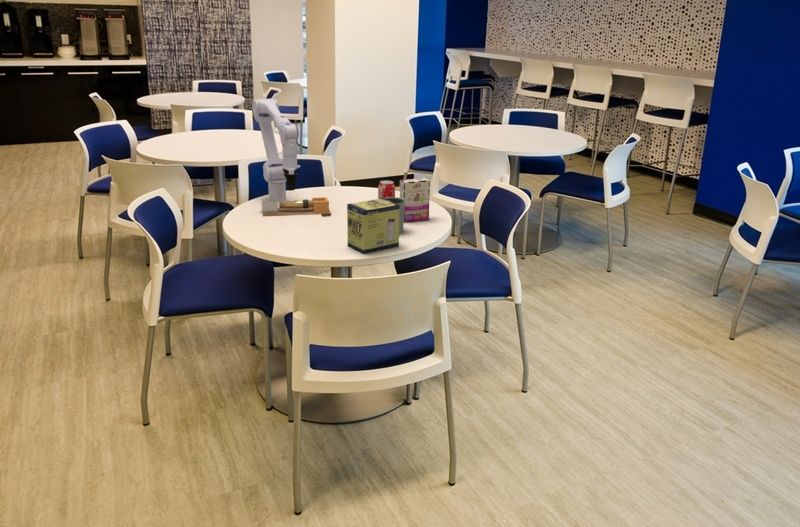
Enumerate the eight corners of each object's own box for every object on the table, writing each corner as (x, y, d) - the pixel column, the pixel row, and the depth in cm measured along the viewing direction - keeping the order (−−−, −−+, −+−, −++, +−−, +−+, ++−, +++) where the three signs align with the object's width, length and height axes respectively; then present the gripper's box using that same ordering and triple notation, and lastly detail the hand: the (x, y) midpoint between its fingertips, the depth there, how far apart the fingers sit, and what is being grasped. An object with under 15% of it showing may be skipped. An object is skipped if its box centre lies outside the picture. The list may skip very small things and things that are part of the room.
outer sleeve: (262, 210, 276) (261, 199, 274) (277, 210, 277) (276, 198, 275) (262, 213, 272) (261, 202, 270) (277, 213, 273) (277, 201, 271)
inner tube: (279, 208, 277) (279, 199, 275) (318, 206, 280) (318, 198, 279) (279, 210, 273) (279, 201, 272) (319, 208, 277) (319, 200, 275)
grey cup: (401, 235, 252) (402, 204, 248) (375, 233, 254) (375, 202, 250) (406, 228, 261) (407, 197, 257) (381, 226, 263) (381, 195, 259)
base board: (261, 210, 280) (261, 208, 279) (327, 208, 285) (327, 206, 285) (262, 218, 269) (262, 216, 268) (331, 216, 274) (330, 213, 274)
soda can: (374, 209, 285) (374, 181, 281) (388, 206, 290) (388, 179, 285) (384, 213, 280) (384, 184, 276) (398, 210, 284) (398, 182, 280)
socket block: (312, 208, 281) (312, 197, 280) (327, 207, 282) (326, 197, 281) (314, 212, 275) (313, 201, 274) (328, 212, 276) (328, 201, 275)
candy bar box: (424, 217, 276) (425, 177, 270) (429, 220, 272) (430, 180, 266) (398, 219, 272) (399, 179, 266) (403, 222, 268) (404, 182, 262)
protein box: (346, 246, 239) (346, 203, 234) (382, 238, 248) (383, 197, 243) (363, 254, 231) (363, 210, 226) (399, 246, 240) (400, 203, 235)
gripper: (301, 158, 268) (302, 192, 272) (298, 151, 281) (299, 183, 285) (283, 158, 266) (284, 192, 271) (281, 151, 279) (282, 184, 284)
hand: (290, 188), depth 278 cm, fingers open, 7 cm apart
